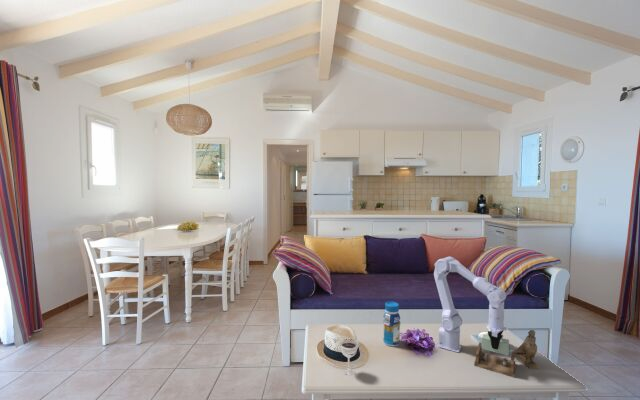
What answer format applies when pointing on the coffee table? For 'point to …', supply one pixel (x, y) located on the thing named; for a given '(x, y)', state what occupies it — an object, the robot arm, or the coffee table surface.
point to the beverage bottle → (391, 324)
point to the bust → (484, 333)
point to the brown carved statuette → (527, 351)
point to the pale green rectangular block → (502, 347)
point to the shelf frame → (495, 362)
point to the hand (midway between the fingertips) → (495, 346)
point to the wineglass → (348, 353)
